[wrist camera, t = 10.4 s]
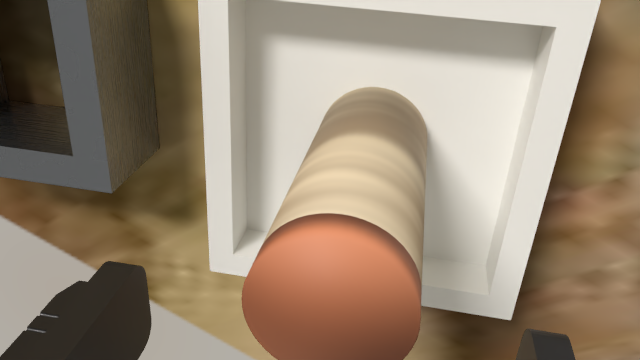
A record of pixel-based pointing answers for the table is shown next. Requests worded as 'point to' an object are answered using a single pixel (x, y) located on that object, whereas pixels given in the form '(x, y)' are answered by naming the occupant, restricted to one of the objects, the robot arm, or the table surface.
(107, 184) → the socket block
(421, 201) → the pin
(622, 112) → the table surface
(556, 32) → the tray
